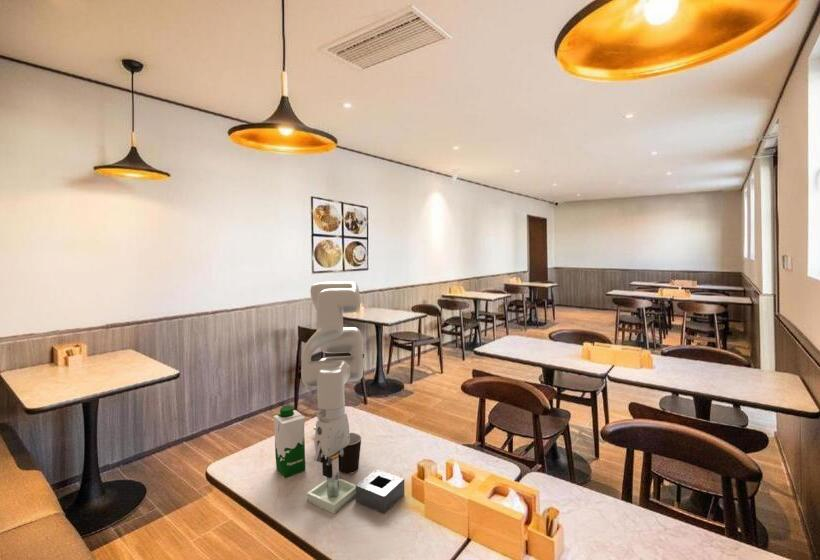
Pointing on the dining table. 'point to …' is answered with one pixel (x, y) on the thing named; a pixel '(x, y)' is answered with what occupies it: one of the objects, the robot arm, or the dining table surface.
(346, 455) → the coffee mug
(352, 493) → the tray
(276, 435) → the milk carton
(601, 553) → the dining table surface
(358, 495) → the grey square box
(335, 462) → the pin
